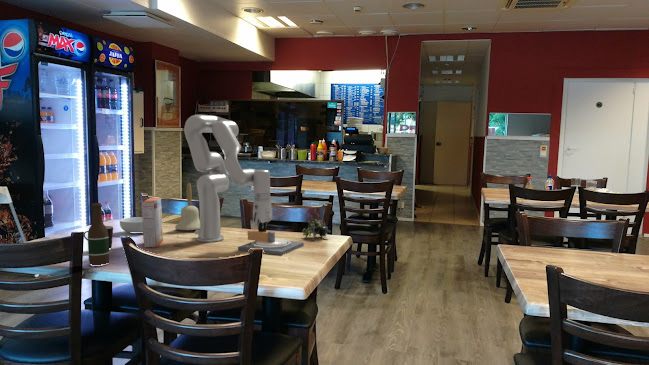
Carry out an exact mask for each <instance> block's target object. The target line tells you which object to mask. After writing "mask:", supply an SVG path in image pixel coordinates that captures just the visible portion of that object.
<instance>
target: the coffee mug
mask: <svg viewBox="0 0 649 365" xmlns="http://www.w3.org/2000/svg"><path fill="white" fill-rule="evenodd" d="M105 227H106V228H107V231H108V236H109V248H111V247H113V236H114V235H113V232H114V226H112V225H105ZM88 231H89V230H85V231H84V232H83V237H84V239H85V240H86V241H87V242H88V237H86V233H88Z"/></svg>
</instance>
